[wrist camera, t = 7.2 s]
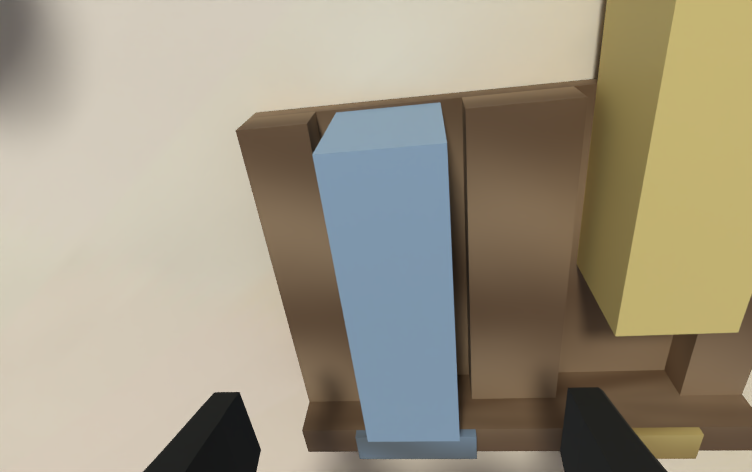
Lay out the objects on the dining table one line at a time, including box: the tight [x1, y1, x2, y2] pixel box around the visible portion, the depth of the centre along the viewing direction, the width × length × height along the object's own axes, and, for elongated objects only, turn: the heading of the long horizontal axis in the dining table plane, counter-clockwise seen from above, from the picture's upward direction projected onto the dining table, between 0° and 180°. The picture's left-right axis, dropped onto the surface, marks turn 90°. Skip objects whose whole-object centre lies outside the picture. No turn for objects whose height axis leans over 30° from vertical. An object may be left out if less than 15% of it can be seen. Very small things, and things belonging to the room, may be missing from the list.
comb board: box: [236, 79, 752, 459], centre depth 15 cm, size 12×15×3 cm
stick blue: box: [312, 102, 460, 442], centre depth 14 cm, size 10×3×4 cm, turn 7°
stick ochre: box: [577, 0, 752, 336], centre depth 11 cm, size 10×3×4 cm, turn 7°
